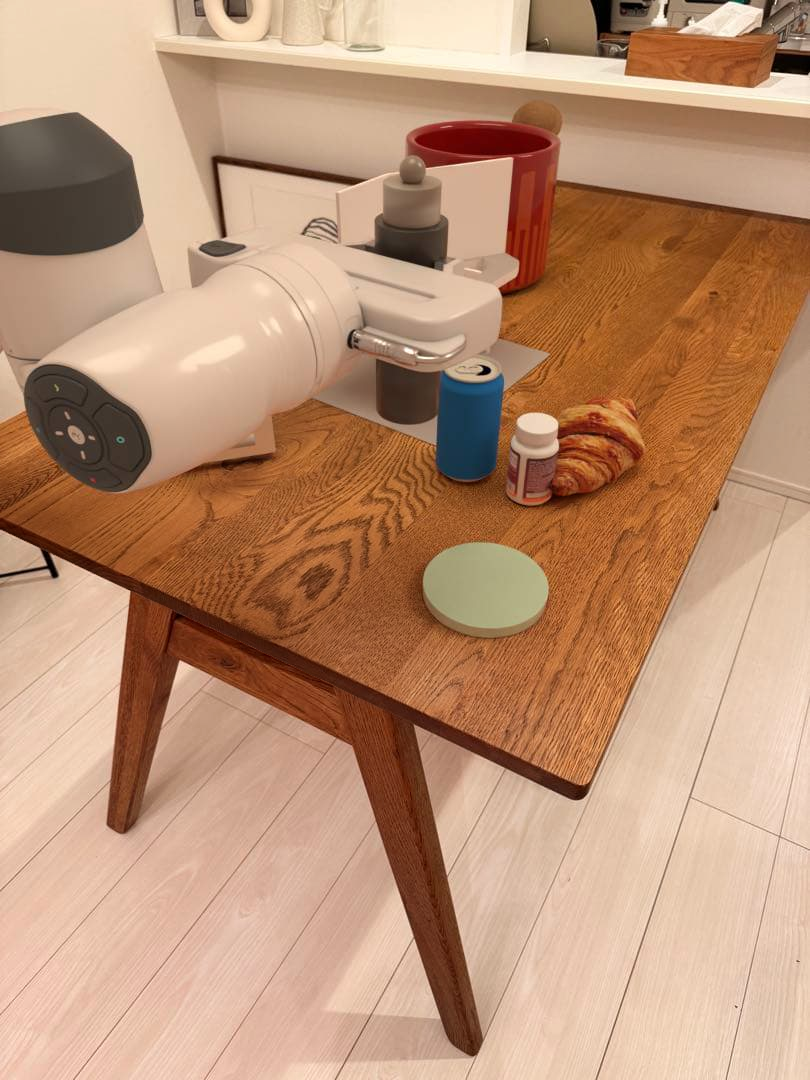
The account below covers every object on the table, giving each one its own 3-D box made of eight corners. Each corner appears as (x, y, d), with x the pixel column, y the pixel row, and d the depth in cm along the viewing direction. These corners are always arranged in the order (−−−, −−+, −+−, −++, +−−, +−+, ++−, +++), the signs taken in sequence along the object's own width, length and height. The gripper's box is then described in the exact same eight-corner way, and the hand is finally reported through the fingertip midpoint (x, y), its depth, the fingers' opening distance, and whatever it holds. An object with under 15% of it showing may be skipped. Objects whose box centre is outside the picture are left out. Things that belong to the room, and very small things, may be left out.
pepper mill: (386, 429, 60) (386, 168, 48) (369, 398, 64) (364, 148, 52) (448, 420, 62) (463, 163, 49) (427, 389, 65) (436, 144, 53)
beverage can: (497, 486, 80) (508, 383, 72) (435, 485, 80) (439, 382, 72) (493, 452, 85) (502, 352, 77) (434, 451, 85) (438, 351, 77)
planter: (453, 239, 138) (459, 113, 125) (568, 267, 128) (588, 133, 115) (376, 277, 124) (373, 140, 111) (499, 312, 113) (512, 165, 100)
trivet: (446, 650, 62) (446, 640, 61) (407, 564, 70) (407, 554, 69) (568, 622, 65) (570, 612, 64) (517, 542, 73) (518, 532, 72)
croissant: (595, 435, 94) (576, 375, 91) (677, 420, 88) (658, 356, 85) (526, 524, 80) (500, 457, 77) (617, 515, 73) (593, 441, 70)
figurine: (551, 213, 150) (565, 97, 137) (549, 224, 144) (564, 105, 132) (505, 210, 151) (515, 95, 138) (502, 221, 146) (512, 103, 133)
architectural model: (436, 446, 85) (445, 232, 70) (295, 391, 95) (275, 192, 80) (551, 354, 103) (577, 166, 88) (422, 315, 112) (425, 140, 97)
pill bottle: (558, 488, 79) (570, 418, 74) (540, 512, 76) (551, 441, 71) (516, 474, 81) (524, 405, 76) (497, 497, 78) (504, 427, 73)
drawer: (282, 473, 80) (275, 416, 75) (168, 492, 77) (154, 433, 73) (257, 392, 93) (250, 339, 88) (159, 406, 90) (147, 352, 86)
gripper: (436, 315, 40) (551, 244, 49) (169, 238, 49) (308, 189, 58) (431, 419, 44) (539, 335, 53) (186, 330, 53) (313, 271, 62)
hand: (417, 259), depth 56 cm, fingers closed on pepper mill, 5 cm apart
